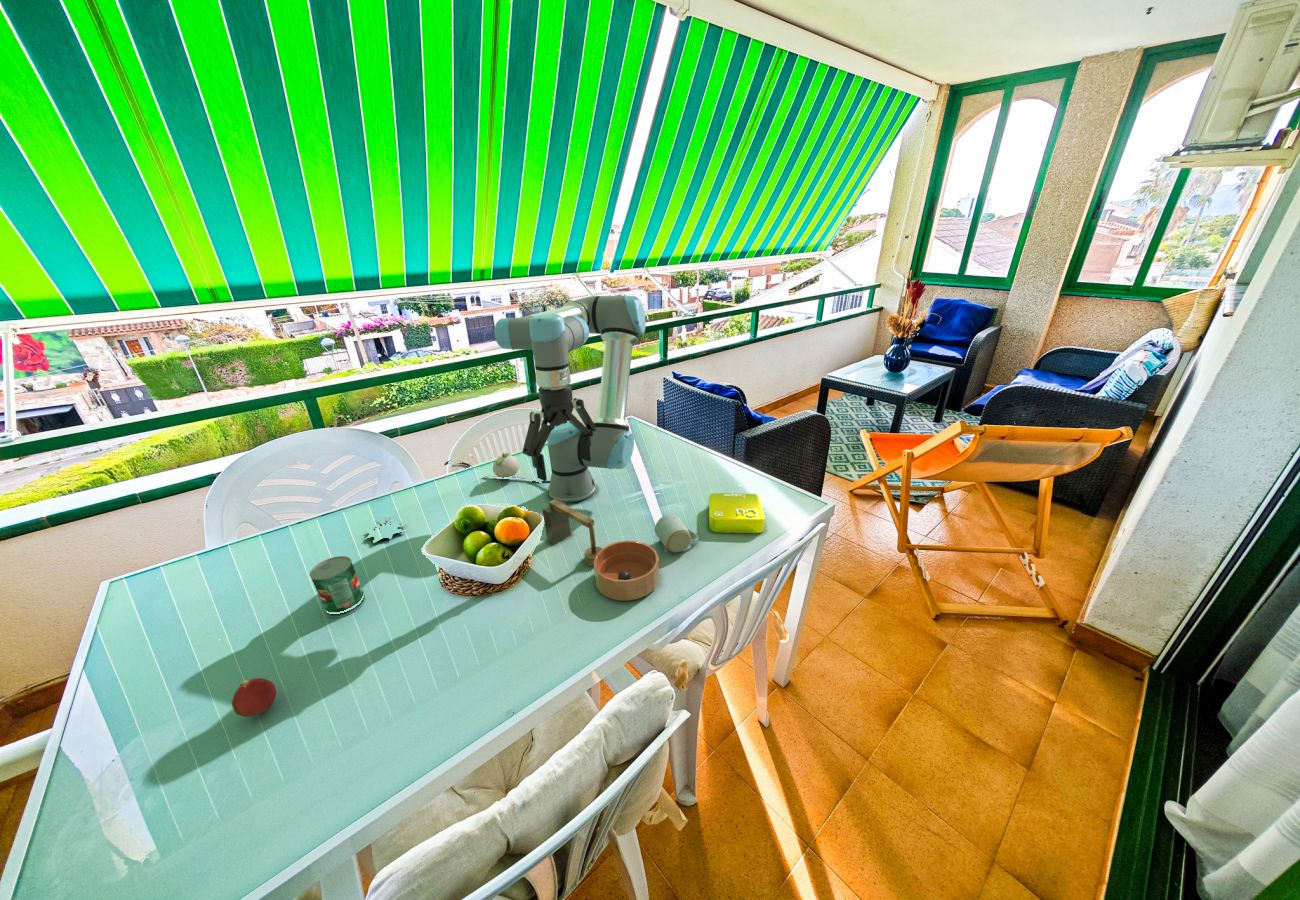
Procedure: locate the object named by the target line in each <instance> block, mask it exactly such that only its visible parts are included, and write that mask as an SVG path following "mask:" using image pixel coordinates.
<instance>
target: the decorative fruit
mask: <svg viewBox="0 0 1300 900" xmlns="http://www.w3.org/2000/svg"><path fill="white" fill-rule="evenodd" d="M519 467H520V464H519V461H518V459H517V457H515V456H513V455H511V453H510V452H505V453H504V452H503V453H502V454H501V455H500V456H498V457H497V458H496V460H495V461H494V462H493V465H492V471H493V474H494V475H495V477H502V478H504V477H510V476H513V475H514V476H515V475H516V474H517V473H518V471H519ZM514 476H513V477H514Z"/></svg>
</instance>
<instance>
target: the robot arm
mask: <svg viewBox="0 0 1300 900" xmlns="http://www.w3.org/2000/svg"><path fill="white" fill-rule="evenodd" d="M646 323H647V322H646V313H645V308H644V305H643V302H642V300H641V298H639V297H638V296H635V295H626V294H624V295H592V296H586V297H583V298H578V299H575V300H572V301H568V302H566V303H564V304H563V305H561V307H558V308H554V309H550V310H545V311H541V312H537V313H533V314H529V315H524V316H520V317H512V316H511V317H510V316H509V317H505V318H503V317H502V318H499V319H498V320H497V321H496V322H495V325H494V330H493V331H494V338H495V342H496V344H497V345H498V346H499V347H500V348H501V349H505V350H512V351H515V350H525V351H526V350H528V351H529V350H531V351H532V354H533V361H534V368H535V369H534V370H535V379H536V385H537V386H538V390H537V391H538V399H539V403H540V405H541V411H538V412H534V411H530V413H529V425H528V427H527V431H526V436H525V440H524V443H523V448H522V454H524V455H525V456H527V457H530V458H531V463H532V467H533V468H534V469H535V470H536V477H537V479H539V480H540V481H541V482H542V483H539V482H536V481H537V480H533V481H532V482H530V483H532V484H535V485H536V484H537V485H541V484H542V485H543V484H549V485H548V496H549V498H550V499H551V500H554V499H555V500H557V501H560V500H561V501H563V502H565V503H567V504H575V503H579V502H582V501H585V500H588V499H590V497H592V496H593V495H594V494H595V493H596V490H597V489H596V488H597V483H596V480H595V479H594V477H593V475H592V474H591V472H590V469H589V468H599V469H608V470H612V469H614V470H621V469H625V467H627V466H628V464H629V462H630V461H631V459H632V456H633V453H634V447H635V435H634V433H633V432H632V431H630V425H629V424H628V423H627V422H626V416H627V415H626V414H627V413H626V412H627V406H628V405H627V404H628V395H629V386H630V385H629V383H630V376H631V375H630V373H631V363H632V353H633V346H634V345H636V344H637V343H638V341H639V336H642V335H644V334H645V331H646ZM590 334H594V335H600V338H601V340H602V341H603V342H604V348H603V349H604V350H603V359H602V367H601V379H600V389H599V398H598V408H597V417H596V419H594V420H593V419H592V418H591V416H590V414H589V413H588V411H587V409H586V408H585V407H586V406H585V402H584V400H583V399H581V398H577V397H574V396H573V388H572V387H573V386H572V385H571V382H572V380H571V379H572V378H571V372H570V362H569V353H570V352H572V351H574V350H577V349H580V348H581V347H582V346H583V345H584V344H585V343H587V341H588V339H589V336H590ZM574 409H575V412H576V413H577V415H578V416H579V418H580V419H581V421H582V422H581V421H580V420H579V419H578V418H577V416H575V414H573V411H574ZM545 445H547V450H548V457H549V464H550V471H551V475H550V480H548V477H547V472H546V464H545V457H544V454H542V450H543V449H544V448H545ZM449 461H450V460H448V461H446V462H445V463H444V464H443V465H444V466H447V465H448V464H449V463H448V462H449ZM461 462H462V463H458V464H460V465H464V466H466V467H468V468H469V467H470V466H471V467H472V465H471V464H470V463H467V462H464V461H461Z"/></svg>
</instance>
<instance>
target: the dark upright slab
mask: <svg viewBox="0 0 1300 900" xmlns="http://www.w3.org/2000/svg"><path fill="white" fill-rule="evenodd" d="M559 502H561V503H563V504H565V505H567V506H568V503H565V502H563V501H561V500H560V501H559ZM542 515H543V522H544V529H545V536H546V541H547V542H548V543H550V544H551V545H553V546H554V545H556V544H559V543H560V542H562V541H564V540H565V539H567V538H569V537H570V536H572V532H571V531H572V530H571V523H570V518H569V517H567V516H566V515H564V514H562V513H560V512H558V511H557V510H555V509H553V508H551V507H550V506H549V505H547V506H546V507H545V506H544V508H542Z"/></svg>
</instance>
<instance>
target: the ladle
mask: <svg viewBox="0 0 1300 900" xmlns="http://www.w3.org/2000/svg"><path fill="white" fill-rule="evenodd" d="M548 506H550V507H551V508H553V509H555V510H557V511H558V512H560V513H562V514H564V515H566V516H567V517H569V519H571V520H573V521H574V522H577V523H578V524H580V525H582V526H583V527H586V528H587V529H588V531H589V533H588V534H589V542H590V547H588V548H586V549H585V550H584V552H583V556H584V562H585V564H586V565H587V566H590V567H594V559H595V556H596V555H597V554H598V552H599V551H600V550H601V549H603V548H602V547H600V546H597V543H596V536H595V535H596V534H595V519H593V518H591V517H589V516H587V515H586V514H584V513H581V512H579V511H578V510H576V509H574V508H573V507H570V506H569V505H568V504H567V505H565V504H563V503H561V502H559V501H557V500H555V499H554V500H553V499H551V500H549V501H548Z"/></svg>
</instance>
